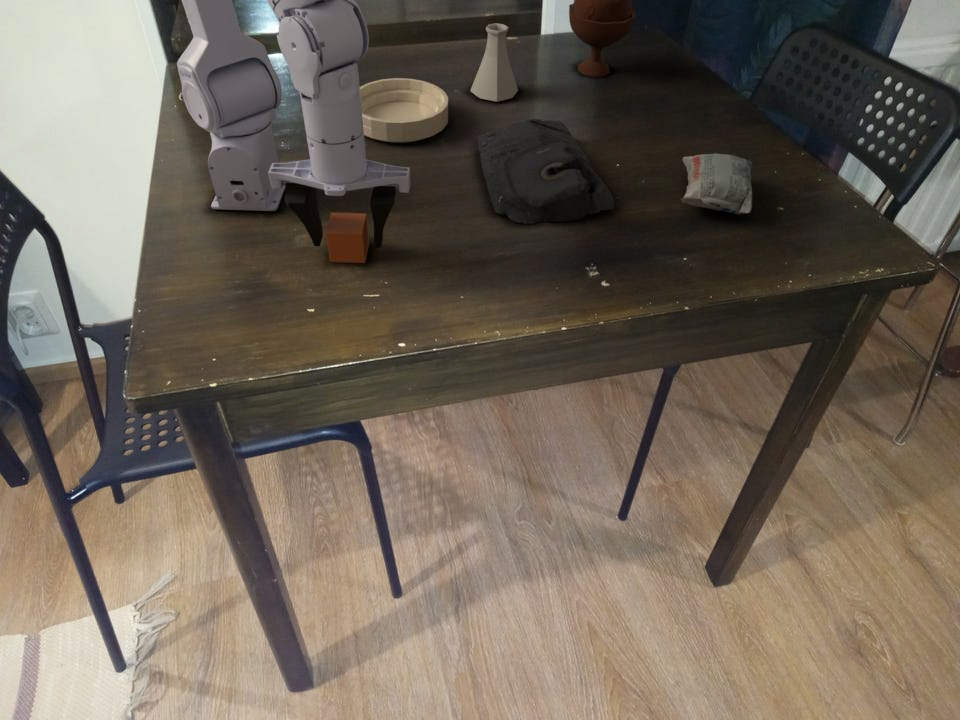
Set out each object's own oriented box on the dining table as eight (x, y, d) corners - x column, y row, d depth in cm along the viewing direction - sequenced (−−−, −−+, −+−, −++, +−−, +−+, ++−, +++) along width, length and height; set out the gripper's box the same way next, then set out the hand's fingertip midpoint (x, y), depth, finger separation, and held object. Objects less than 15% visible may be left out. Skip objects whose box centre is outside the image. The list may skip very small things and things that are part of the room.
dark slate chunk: (575, 134, 102) (579, 102, 99) (618, 219, 87) (625, 185, 83) (471, 138, 100) (472, 107, 97) (498, 226, 85) (500, 193, 81)
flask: (490, 78, 114) (493, 14, 107) (525, 92, 111) (531, 27, 104) (462, 92, 110) (463, 27, 103) (497, 107, 107) (501, 40, 100)
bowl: (446, 147, 98) (446, 124, 95) (345, 144, 98) (342, 120, 95) (449, 102, 108) (450, 79, 105) (358, 99, 108) (356, 76, 105)
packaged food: (676, 216, 87) (686, 182, 84) (679, 169, 96) (689, 136, 92) (746, 228, 86) (760, 194, 83) (744, 180, 94) (756, 147, 91)
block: (365, 263, 79) (362, 234, 76) (329, 262, 79) (325, 232, 76) (369, 242, 82) (366, 213, 79) (335, 241, 82) (331, 212, 79)
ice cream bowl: (623, 58, 122) (640, -36, 111) (626, 86, 114) (644, -13, 103) (562, 54, 122) (573, -41, 112) (561, 81, 114) (573, -18, 104)
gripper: (252, 148, 67) (277, 261, 76) (404, 152, 67) (409, 265, 77) (268, 113, 72) (290, 224, 81) (409, 118, 72) (414, 228, 82)
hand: (348, 242), depth 79 cm, fingers open, 6 cm apart
